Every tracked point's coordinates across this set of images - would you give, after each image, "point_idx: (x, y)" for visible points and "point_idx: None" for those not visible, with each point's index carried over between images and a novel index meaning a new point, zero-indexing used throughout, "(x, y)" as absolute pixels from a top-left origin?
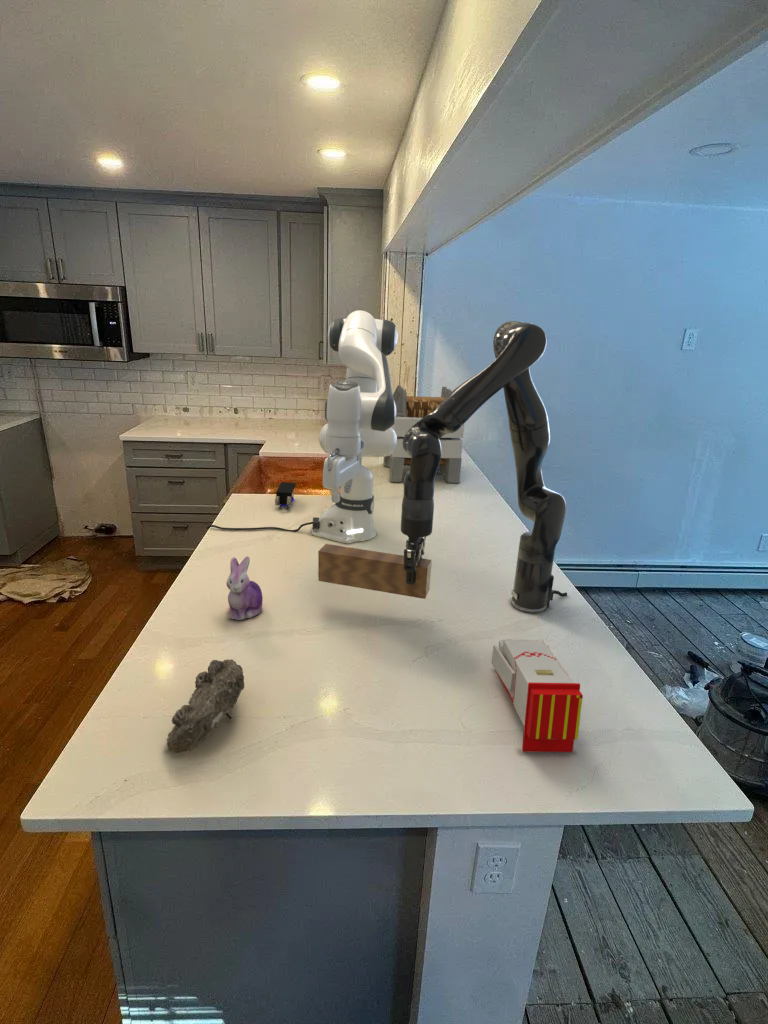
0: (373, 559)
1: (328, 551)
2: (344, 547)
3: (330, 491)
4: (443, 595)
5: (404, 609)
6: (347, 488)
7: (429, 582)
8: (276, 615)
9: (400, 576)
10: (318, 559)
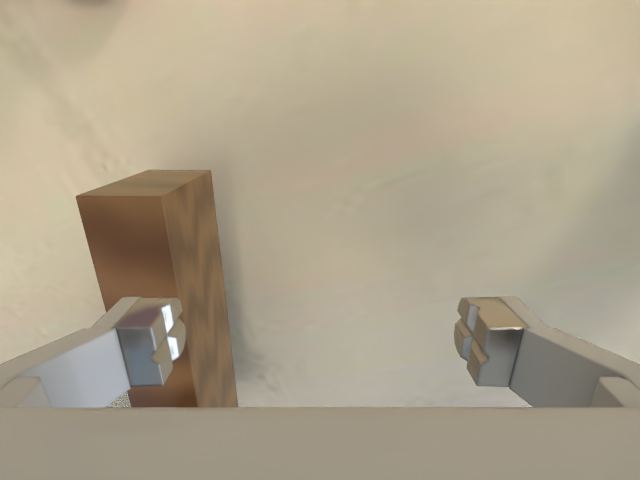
0: (128, 392)
1: (96, 237)
2: (166, 281)
3: (7, 365)
4: (374, 381)
5: (286, 325)
6: (482, 347)
7: None
8: (121, 52)
9: None
10: (100, 187)
